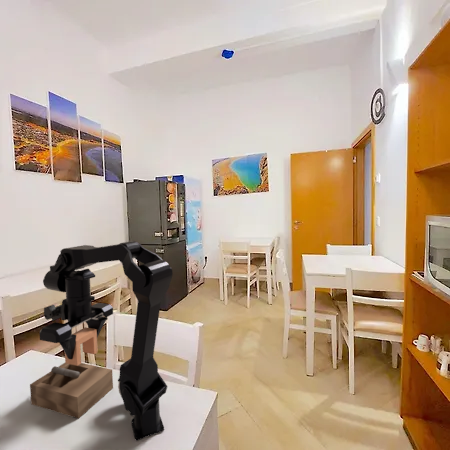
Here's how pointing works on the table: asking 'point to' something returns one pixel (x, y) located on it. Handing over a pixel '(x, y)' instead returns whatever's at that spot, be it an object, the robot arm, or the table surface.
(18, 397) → the table surface
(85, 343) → the staple
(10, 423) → the table surface
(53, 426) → the table surface
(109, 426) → the table surface
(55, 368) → the wooden divided tray
